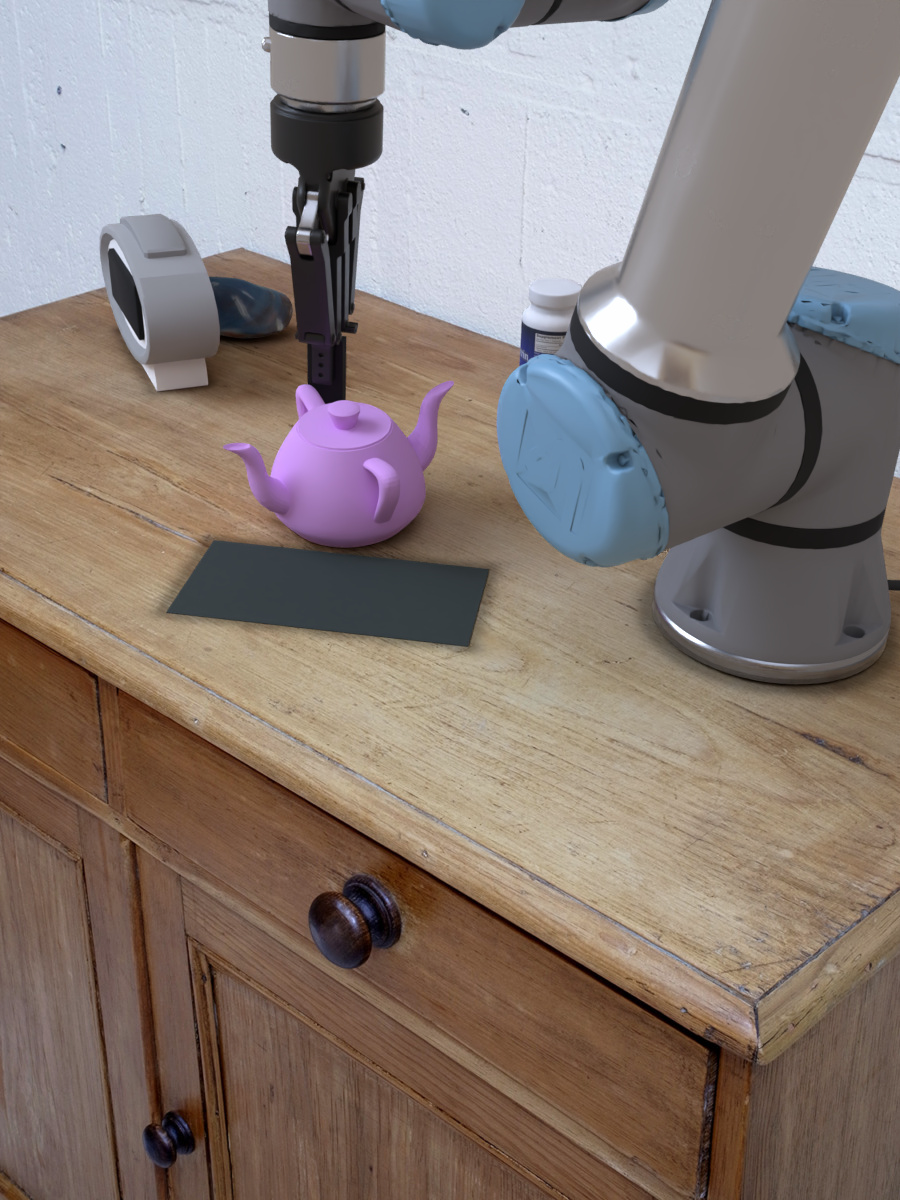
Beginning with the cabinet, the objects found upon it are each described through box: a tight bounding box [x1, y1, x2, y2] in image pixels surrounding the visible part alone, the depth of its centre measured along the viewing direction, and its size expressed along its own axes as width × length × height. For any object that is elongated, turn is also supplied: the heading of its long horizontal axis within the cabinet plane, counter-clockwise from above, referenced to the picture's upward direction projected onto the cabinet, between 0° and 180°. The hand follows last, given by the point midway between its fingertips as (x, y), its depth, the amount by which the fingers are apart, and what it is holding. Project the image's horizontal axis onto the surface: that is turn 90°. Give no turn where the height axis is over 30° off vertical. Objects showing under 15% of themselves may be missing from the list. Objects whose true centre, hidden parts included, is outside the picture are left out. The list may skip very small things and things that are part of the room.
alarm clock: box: [98, 213, 221, 392], centre depth 121 cm, size 23×6×13 cm, turn 23°
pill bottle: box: [518, 277, 583, 367], centre depth 117 cm, size 6×6×10 cm
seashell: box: [209, 276, 294, 340], centre depth 130 cm, size 6×9×10 cm
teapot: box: [222, 380, 455, 549], centre depth 94 cm, size 12×14×9 cm
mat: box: [165, 539, 490, 648], centre depth 89 cm, size 20×10×1 cm, turn 81°
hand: (326, 415), depth 100 cm, fingers closed
